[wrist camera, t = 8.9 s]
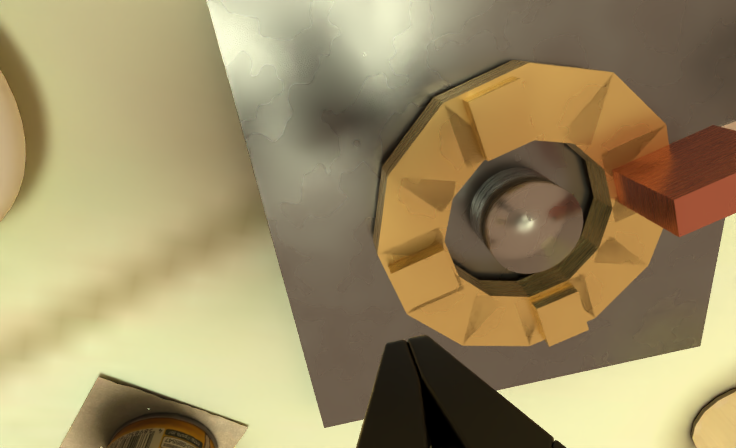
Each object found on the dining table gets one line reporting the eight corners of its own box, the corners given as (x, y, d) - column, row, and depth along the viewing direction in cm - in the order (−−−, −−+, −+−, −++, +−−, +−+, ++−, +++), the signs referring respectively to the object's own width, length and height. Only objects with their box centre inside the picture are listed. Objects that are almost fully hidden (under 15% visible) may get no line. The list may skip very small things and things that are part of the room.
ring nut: (434, 364, 24) (463, 443, 19) (327, 147, 18) (334, 186, 14) (701, 249, 23) (797, 303, 18) (671, -15, 18) (796, -27, 13)
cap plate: (209, -14, 17) (184, -24, 14) (753, -105, 18) (864, -137, 15) (323, 407, 26) (326, 468, 23) (680, 330, 28) (737, 376, 24)
